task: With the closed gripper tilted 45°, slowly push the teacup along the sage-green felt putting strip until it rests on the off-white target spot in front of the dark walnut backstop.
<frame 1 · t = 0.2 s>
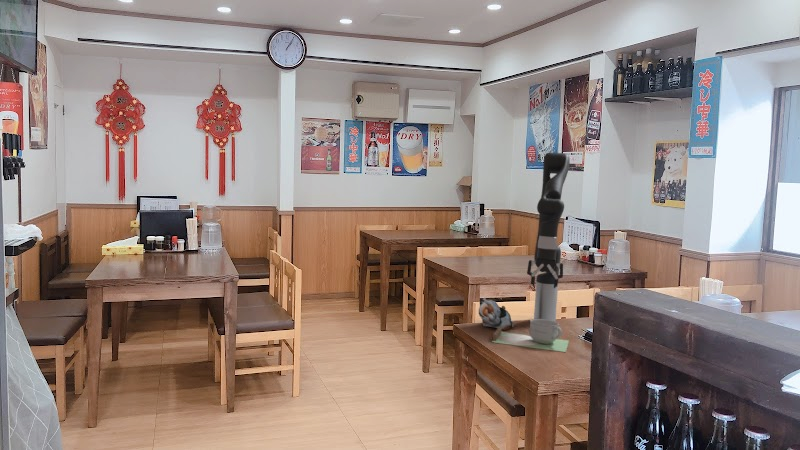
hand: (543, 286, 254), 18 cm above the table, tool pointing down, fingers open, 8 cm apart
teacup: (545, 343, 235), resting on putting green
lucky cat figurine: (495, 327, 256), on the table
putting green: (530, 341, 236), on the table
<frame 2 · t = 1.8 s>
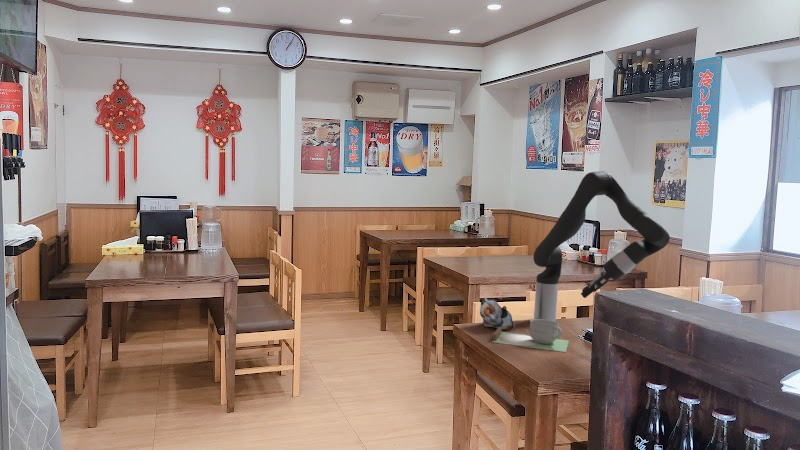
hand: (583, 294, 229), 20 cm above the table, tool tilted 45°, fingers open, 6 cm apart
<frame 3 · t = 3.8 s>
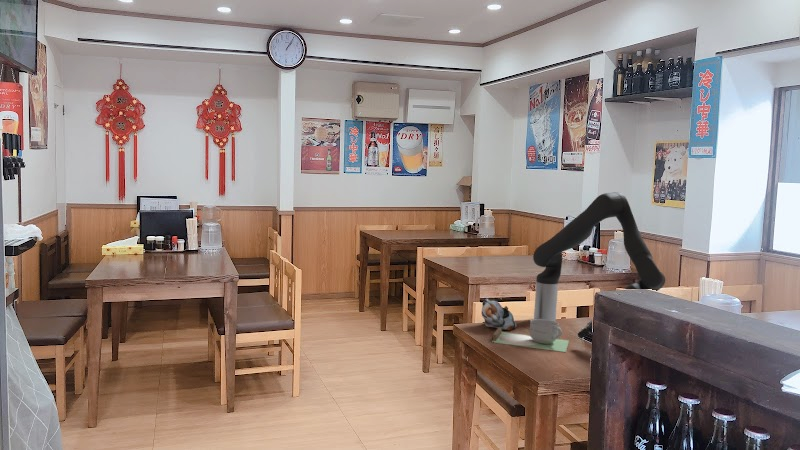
hand: (579, 336, 230), 4 cm above the table, tool tilted 45°, fingers closed
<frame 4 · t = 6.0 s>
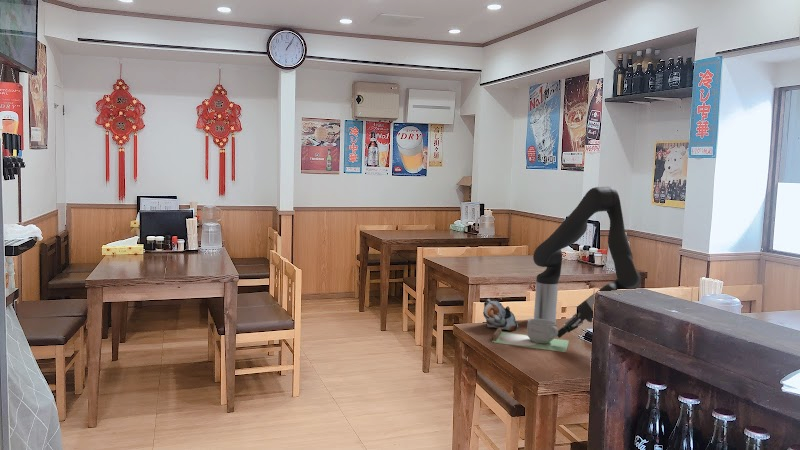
hand: (557, 335, 233), 4 cm above the table, tool tilted 45°, fingers closed
teacup: (542, 343, 235), resting on putting green
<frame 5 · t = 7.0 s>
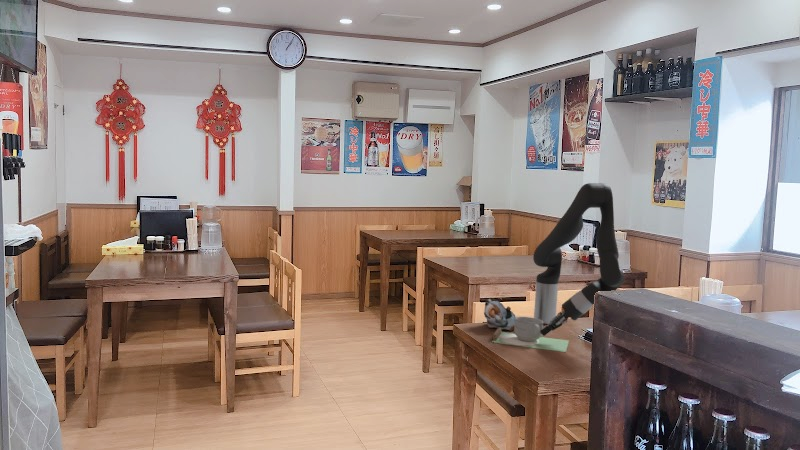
hand: (542, 333, 235), 4 cm above the table, tool tilted 45°, fingers closed
teacup: (528, 341, 237), resting on putting green, touching gripper
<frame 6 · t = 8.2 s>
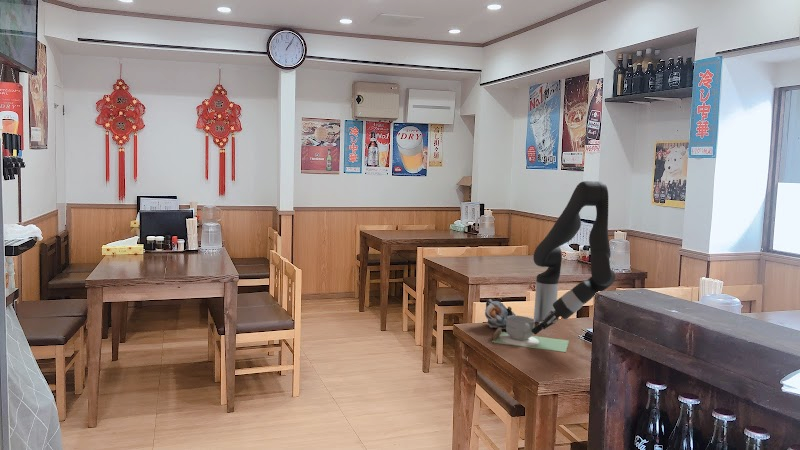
hand: (533, 332, 236), 4 cm above the table, tool tilted 45°, fingers closed
teacup: (520, 339, 238), resting on putting green, touching gripper
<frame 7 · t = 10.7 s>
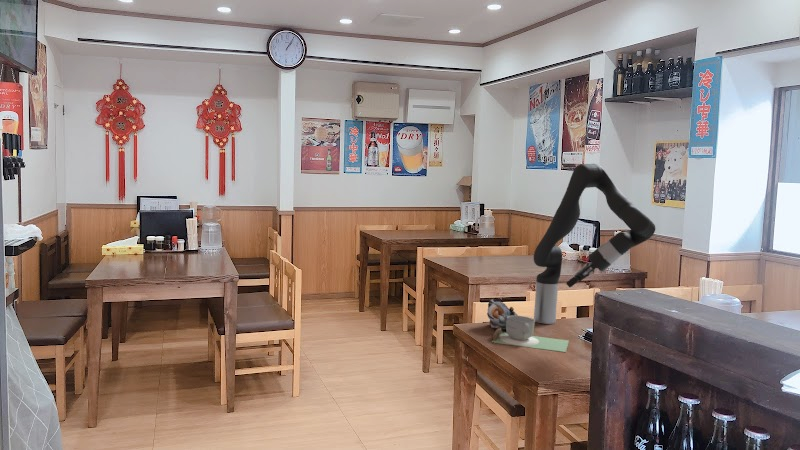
hand: (568, 285, 230), 23 cm above the table, tool tilted 45°, fingers closed
teacup: (520, 339, 238), resting on putting green
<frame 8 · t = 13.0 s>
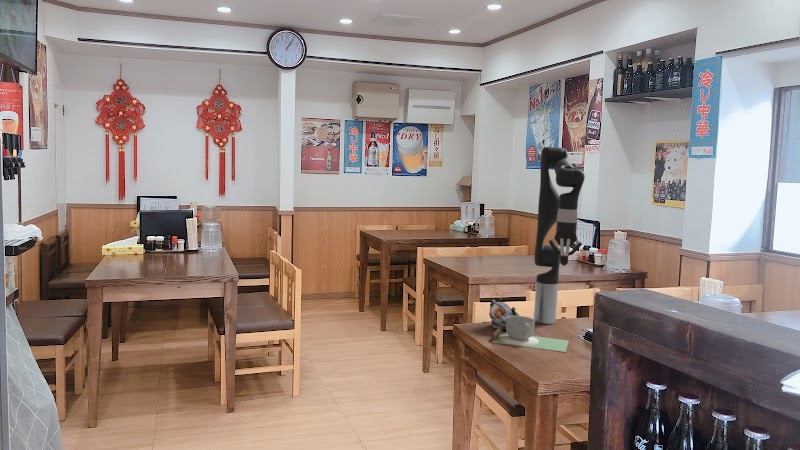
hand: (563, 265, 240), 29 cm above the table, tool pointing down, fingers closed
at the end: teacup inside the target area (1.0 cm from its centre), resting on putting green; teacup tilted 0°; the gripper is holding nothing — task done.
